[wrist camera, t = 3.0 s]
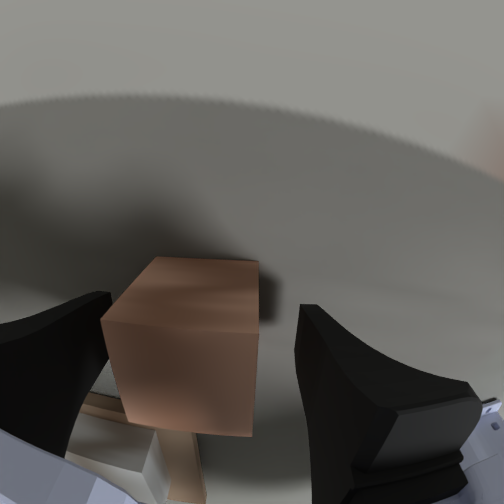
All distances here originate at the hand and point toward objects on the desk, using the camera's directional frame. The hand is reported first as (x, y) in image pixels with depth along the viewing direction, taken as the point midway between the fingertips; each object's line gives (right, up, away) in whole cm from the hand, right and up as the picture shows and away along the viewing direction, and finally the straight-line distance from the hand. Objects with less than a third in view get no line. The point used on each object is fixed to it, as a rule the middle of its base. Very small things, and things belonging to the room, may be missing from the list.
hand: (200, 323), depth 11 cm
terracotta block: (0, +1, +1) cm, 2 cm away
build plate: (-6, -11, +5) cm, 13 cm away
